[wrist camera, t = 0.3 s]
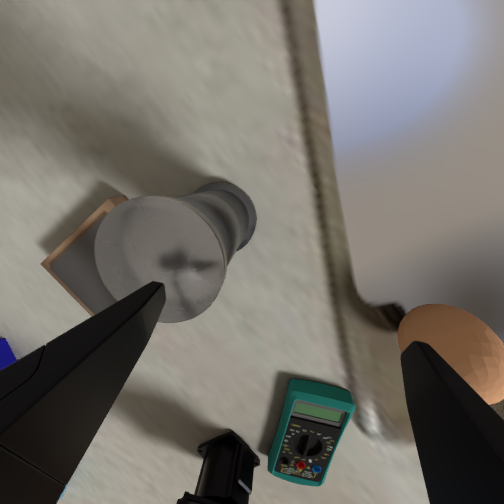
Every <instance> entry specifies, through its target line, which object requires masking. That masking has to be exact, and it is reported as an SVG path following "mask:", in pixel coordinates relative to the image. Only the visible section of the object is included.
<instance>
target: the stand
mask: <svg viewBox="0 0 504 504" xmlns="http://www.w3.org/2000/svg"><path fill="white" fill-rule="evenodd" d="M127 200H129V199H128V198H127V197H126V196H122V197H114V198H108V199H107V200H106V201H105V202H104V203H103V204H102V205H101V206H100V207H99V208H98V209H97V210H96V211H95V212H94V213H93V214H92V215H91V216H90V217H88V218H87V219H86V220H85V221H84V222H83V223H82V224H81V225H80V226H79V227H78V228H77V229H76V230H75V231H74V232H73V233H72V234H71V235H70V236H69V237H68V238H67V239H66V240H65V241H64V242H63V243H61V244H60V245H59V246H58V247H57V248H56V249H55V250H54V251H53V252H52V253H51V254H50V255H49V256H48V257H47V258H46V259H45V260H44V261H43V262H42V263H41V265H42V266H43V267H44V268H45V269H46V270H47V271H48V272H49V273H50V274H51V275H52V276H53V277H54V278H55V279H56V280H57V281H58V282H59V283H60V284H61V285H62V286H63V287H64V288H65V290H66V291H67V292H68V293H69V294H70V295H71V296H72V297H73V298H74V299H75V300H76V301H77V302H78V303H79V304H80V305H81V306H82V307H83V308H84V309H85V310H86V311H87V312H88V313H89V314H90V315H91V316H94V315H96V314H97V313H99V312H101V311H102V310H104V309H106V308H107V307H109V306H111V305H112V304H114V303H116V302H117V300H116V299H115V298H114V297H113V295H112V294H111V293H110V292H109V290H108V289H107V288H106V286H105V284H104V283H103V281H102V279H101V277H100V274H99V272H98V269H97V265H96V261H95V238H96V234H97V231H98V228H99V226H100V224H101V222H102V221H103V219H104V218H105V216H106V215H107V214H108V213H109V212H110V211H111V210H112V209H113V208H115V207H116V206H117V205H119V204H121V203H123V202H125V201H127Z"/></svg>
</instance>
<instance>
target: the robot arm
mask: <svg viewBox="0 0 504 504" xmlns="http://www.w3.org/2000/svg"><path fill="white" fill-rule="evenodd" d="M165 302H166V293H165V285H164V283H162V282H157V281H151V282H149V283H148V284H146V285H144V286H143V287H141V288H139V289H138V290H136V291H134V292H133V293H131V294H129V295H128V296H126V297H124V298H122V299H121V300H119V301H117V302H116V303H114V304H112V305H111V306H109V307H107V308H106V309H104V310H102V311H101V312H99V313H97V314H96V315H94V316H92V317H90V318H89V319H87V320H85V321H84V322H82V323H80V324H79V325H77V326H75V327H74V328H72V329H70V330H69V331H67V332H65V333H63V334H62V335H60V336H58V337H57V338H55V339H53V340H52V341H50V342H48V343H47V344H46V346H45V345H43V346H41V347H40V348H38V349H36V350H35V351H33V352H31V353H30V354H28V355H26V356H24V357H23V358H21V359H19V360H17V361H16V362H14V363H12V364H10V365H9V366H7V367H5V368H3V369H1V370H0V504H56V503H57V501H58V500H59V498H60V496H61V494H62V493H63V491H64V489H65V487H66V486H65V485H67V484H68V482H69V480H70V478H71V477H72V475H73V473H74V471H75V470H76V468H77V466H78V464H79V463H80V461H81V459H82V457H83V456H84V454H85V452H86V450H87V449H88V447H89V445H90V443H91V442H92V440H93V438H94V436H95V435H96V433H97V431H98V429H99V428H100V426H101V424H102V422H103V421H104V419H105V417H106V415H107V414H108V412H109V410H110V408H111V407H112V405H113V403H114V401H115V400H116V398H117V396H118V394H119V393H120V391H121V389H122V387H123V386H124V384H125V382H126V380H127V379H128V377H129V375H130V373H131V372H132V370H133V368H134V366H135V365H136V363H137V361H138V359H139V358H140V356H141V354H142V352H143V351H144V349H145V347H146V345H147V343H148V341H149V339H150V337H151V335H152V332H153V330H154V328H155V326H156V323H157V321H158V319H159V316H160V314H161V312H162V309H163V307H164V305H165ZM401 367H402V374H403V382H404V390H405V397H406V403H407V408H408V413H409V417H410V421H411V425H412V430H413V434H414V438H415V442H416V447H417V451H418V455H419V459H420V464H421V468H422V472H423V476H424V480H425V485H426V489H427V493H428V497H429V502H430V504H504V420H503V419H502V418H501V417H500V416H499V415H498V414H497V413H496V412H495V411H494V410H493V409H492V408H491V407H490V406H489V405H488V404H487V403H486V402H485V401H484V399H483V398H482V397H481V396H480V395H479V394H478V393H477V392H476V391H475V390H474V389H473V388H472V387H471V386H470V385H469V384H468V383H467V382H466V381H465V380H464V379H463V378H462V377H461V376H460V375H459V374H458V373H457V372H456V371H455V370H454V369H453V368H452V367H451V366H450V365H449V364H448V363H447V362H446V361H445V360H444V359H443V358H442V357H441V356H440V355H439V354H438V353H437V352H436V351H435V350H434V349H433V348H432V347H431V346H430V345H429V344H428V343H425V342H421V341H413V342H411V343H410V344H409V346H408V347H407V348H406V349H405V350H404V351H403V352H402V354H401ZM197 452H198V453H199V454H200V455H201V456H202V457H203V458H204V460H203V464H202V468H201V471H200V475H199V479H198V483H197V486H196V490H195V494H194V495H193V494H189V492H186V491H185V493H184V496H183V497H182V498H181V499H178V501H177V504H248V502H249V494H251V492H252V482H253V471H254V467H257V466H259V465H260V459H259V458H258V457H257V456H256V455H255V454H254V453H253V452H252V451H251V450H250V449H249V448H248V447H247V446H246V445H245V443H244V442H243V441H242V440H241V439H240V438H239V437H238V436H237V435H236V434H235V433H234V432H229V433H226V434H224V435H222V436H220V437H218V438H215V439H213V440H211V441H209V442H207V443H204V444H202V445H200V446H198V449H197Z"/></svg>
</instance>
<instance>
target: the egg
mask: <svg viewBox="0 0 504 504" xmlns="http://www.w3.org/2000/svg"><path fill="white" fill-rule="evenodd" d="M413 341H421V342H425V343H428V344H429V345H430V346H431V347H432V348H433V349H434V350H435V351H436V352H437V353H438V354H439V355H440V356H441V357H442V358H443V359H444V360H445V361H446V362H447V363H448V364H449V365H450V366H451V367H452V368H453V369H454V370H455V371H456V372H457V373H458V374H459V375H460V376H461V377H462V378H463V379H464V380H465V381H466V382H467V383H468V384H469V385H470V386H471V387H472V388H473V389H474V390H475V391H476V392H477V393H478V394H479V395H480V396H481V397H482V398H483V399H484V401H485V402H486V403H487V404H488V405H490V404H494V403H498V402H500V401H501V400H502V399H504V344H503V342H502V341H501V340H500V339H499V338H498V337H497V335H496V334H495V333H494V332H493V331H492V330H491V329H490V328H489V327H488V326H487V325H486V324H485V323H483V322H482V321H481V320H479V319H478V318H477V317H475V316H474V315H472V314H470V313H468V312H466V311H464V310H461V309H459V308H456V307H454V306H449V305H444V304H426V305H422V306H418V307H416V308H414V309H412V310H411V311H410V312H408V313H407V314H406V315H405V316H404V317H403V319H402V321H401V322H400V325H399V329H398V343H399V347H400V350H401V353H402V352H403V351H404V350H405V349H406V348H407V347H408V346H409V344H410V343H411V342H413Z"/></svg>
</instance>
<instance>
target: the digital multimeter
mask: <svg viewBox="0 0 504 504" xmlns="http://www.w3.org/2000/svg"><path fill="white" fill-rule="evenodd" d="M354 410H355V404H354V401H353V398H352V395H351V393H350V392H349V391H346V390H343V389H340V388H337V387H333V386H330V385H326V384H322V383H318V382H312V381H306V380H299V379H291V380H290V381H289V385H288V390H287V394H286V399H285V403H284V407H283V411H282V415H281V418H280V422H279V426H278V429H277V432H276V435H275V438H274V441H273V443H272V446H271V449H270V451H269V454H268V471H269V472H270V473H271V474H273V475H274V476H276V477H279V478H281V479H284V480H287V481H289V482H293V483H297V484H301V485H308V486H320V485H322V484H323V483H324V481H325V478H326V474H327V471H328V468H329V466H330V463H331V460H332V457H333V455H334V452H335V450H336V447H337V445H338V443H339V441H340V438H341V436H342V434H343V432H344V430H345V428H346V426H347V424H348V422H349V420H350V418H351V416H352V414H353V412H354ZM288 422H289V423H288ZM287 425H288V426H287ZM283 438H284V439H283ZM323 449H324V450H323ZM279 451H280V452H279ZM278 454H279V455H278Z"/></svg>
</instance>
